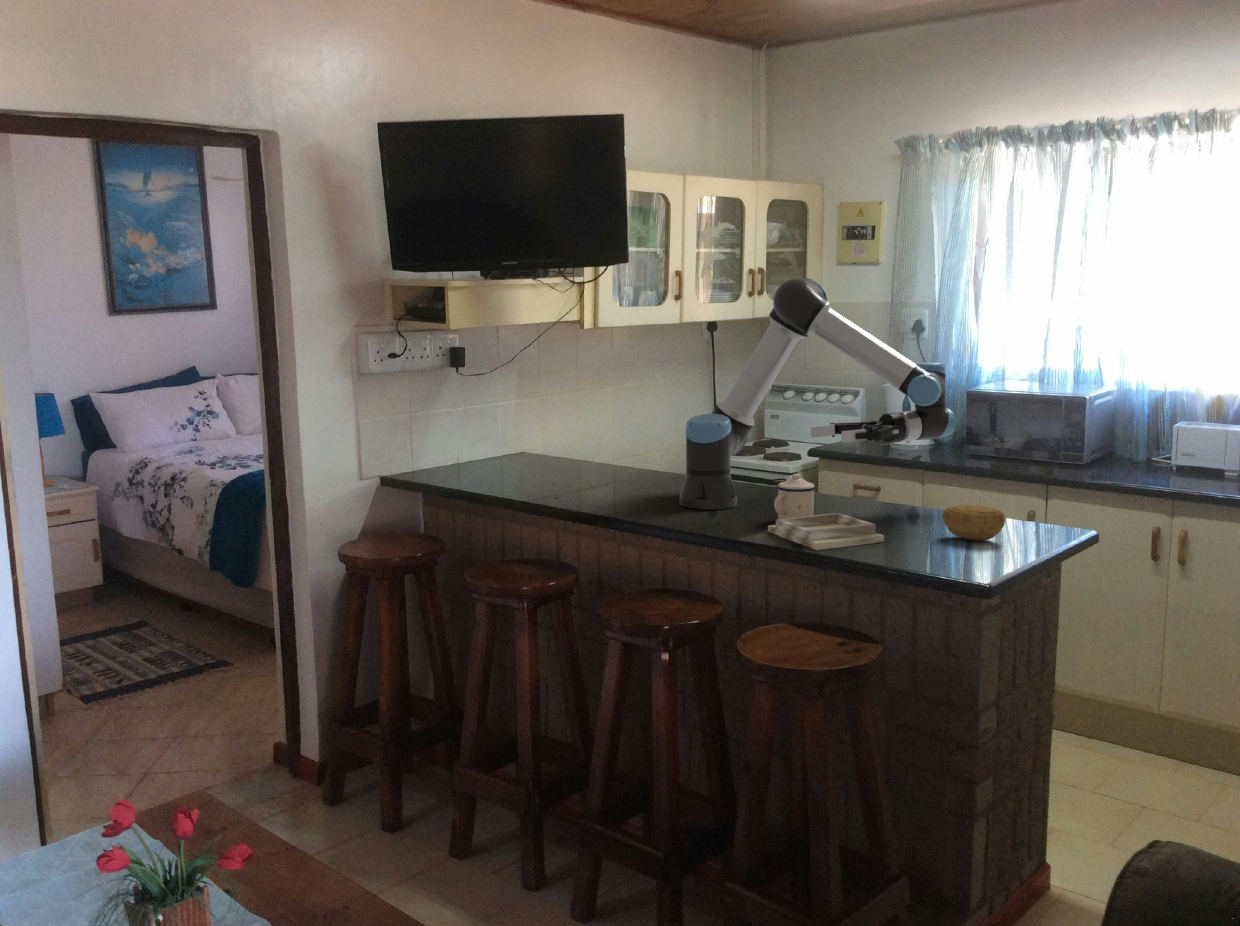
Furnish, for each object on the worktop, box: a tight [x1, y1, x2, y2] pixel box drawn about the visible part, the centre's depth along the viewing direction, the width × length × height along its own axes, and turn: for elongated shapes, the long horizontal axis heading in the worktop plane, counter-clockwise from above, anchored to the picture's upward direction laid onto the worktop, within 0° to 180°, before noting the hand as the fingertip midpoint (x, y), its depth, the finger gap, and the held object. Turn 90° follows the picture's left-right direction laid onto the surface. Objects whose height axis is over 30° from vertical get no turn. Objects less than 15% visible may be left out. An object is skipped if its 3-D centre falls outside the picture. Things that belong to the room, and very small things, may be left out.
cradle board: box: [767, 512, 885, 551], centre depth 248 cm, size 20×18×4 cm
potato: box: [942, 503, 1006, 542], centre depth 243 cm, size 10×14×8 cm
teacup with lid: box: [773, 473, 816, 519], centre depth 263 cm, size 12×9×12 cm
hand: (826, 434), depth 265 cm, fingers open, 13 cm apart
